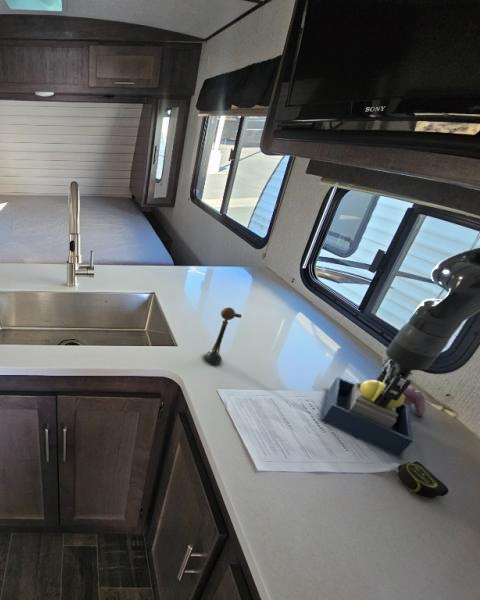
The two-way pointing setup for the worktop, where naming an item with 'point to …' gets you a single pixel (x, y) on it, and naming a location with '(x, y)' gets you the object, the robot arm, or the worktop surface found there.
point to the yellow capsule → (378, 392)
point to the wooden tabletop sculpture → (220, 337)
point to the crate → (367, 421)
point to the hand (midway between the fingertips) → (379, 395)
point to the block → (369, 408)
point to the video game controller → (415, 400)
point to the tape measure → (421, 480)
